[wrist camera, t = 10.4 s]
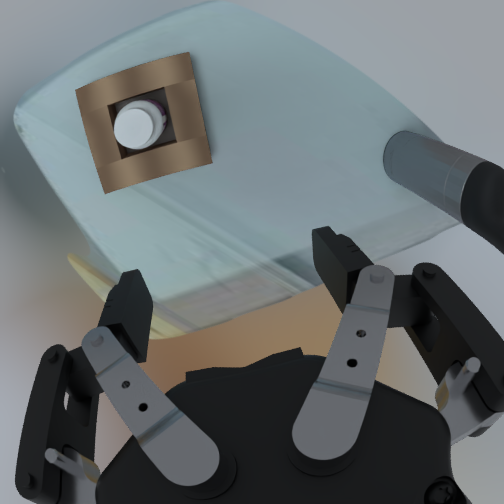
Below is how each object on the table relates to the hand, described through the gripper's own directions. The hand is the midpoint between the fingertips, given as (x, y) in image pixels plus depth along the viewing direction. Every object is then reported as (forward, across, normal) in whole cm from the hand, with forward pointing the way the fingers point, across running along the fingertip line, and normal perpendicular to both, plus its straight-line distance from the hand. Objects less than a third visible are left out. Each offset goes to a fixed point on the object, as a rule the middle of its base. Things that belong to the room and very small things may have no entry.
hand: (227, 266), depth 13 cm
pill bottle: (+27, +7, -7) cm, 29 cm away
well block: (+27, +7, -6) cm, 29 cm away
